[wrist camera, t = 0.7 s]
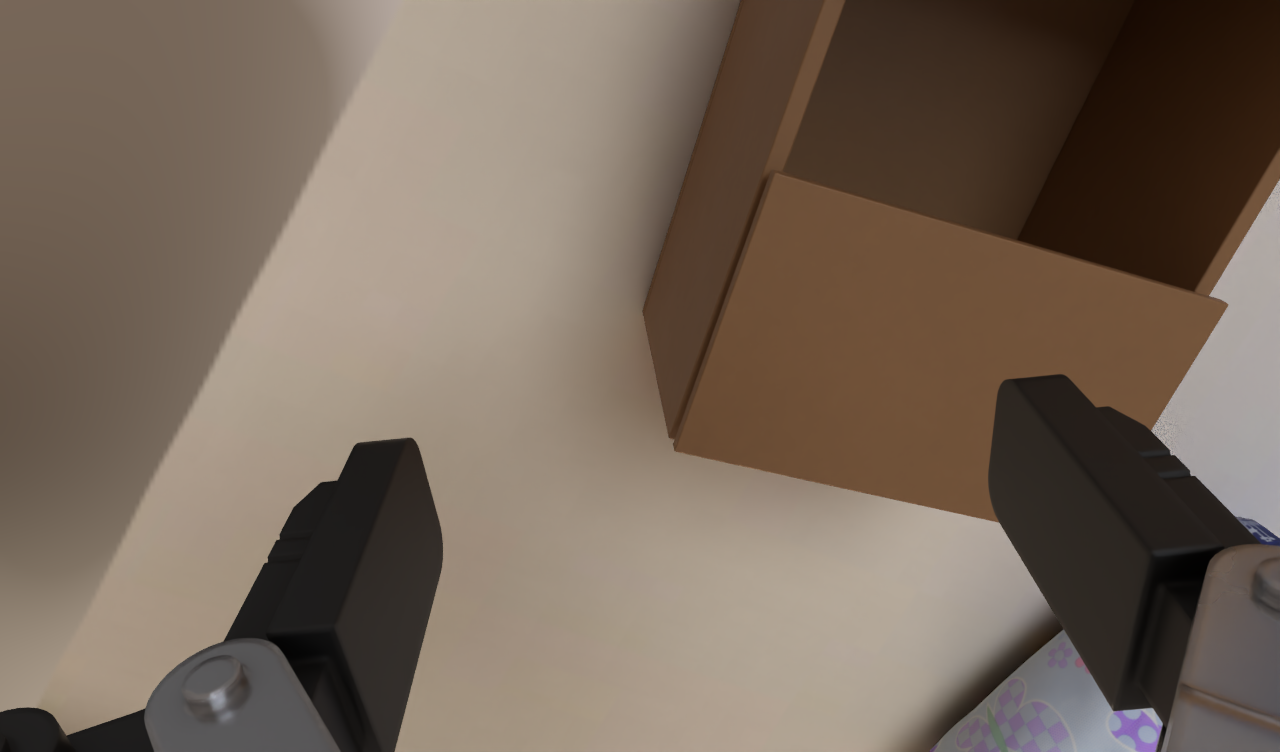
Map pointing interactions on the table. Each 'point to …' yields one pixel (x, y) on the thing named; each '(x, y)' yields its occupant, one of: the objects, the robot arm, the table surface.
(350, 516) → the robot arm
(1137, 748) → the pencil case
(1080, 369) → the carton
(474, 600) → the table surface
